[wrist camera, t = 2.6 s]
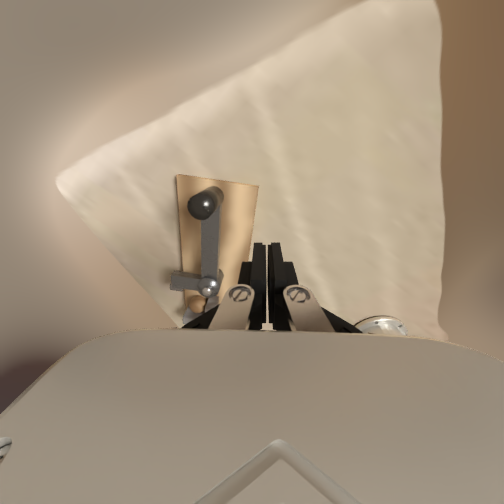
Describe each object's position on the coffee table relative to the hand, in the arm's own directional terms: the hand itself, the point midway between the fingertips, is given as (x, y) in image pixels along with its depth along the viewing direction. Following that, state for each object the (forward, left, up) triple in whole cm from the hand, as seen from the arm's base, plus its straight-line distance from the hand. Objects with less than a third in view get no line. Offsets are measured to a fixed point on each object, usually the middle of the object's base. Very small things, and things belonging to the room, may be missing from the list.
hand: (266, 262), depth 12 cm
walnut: (+11, +23, -19) cm, 32 cm away
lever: (+11, +9, -19) cm, 23 cm away
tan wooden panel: (+8, +13, -20) cm, 26 cm away
